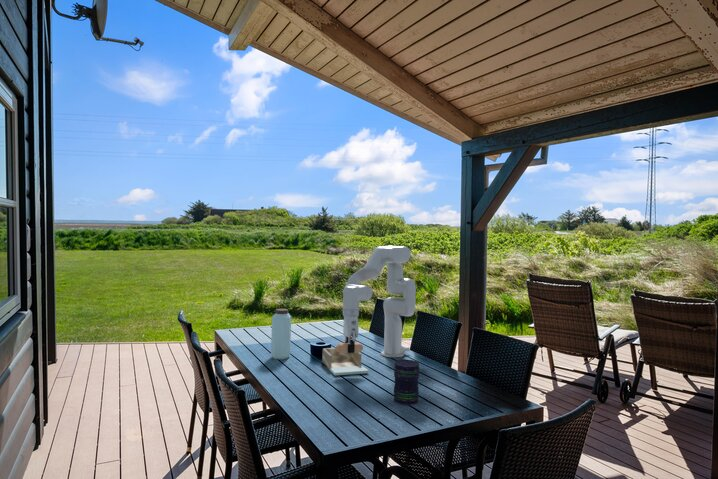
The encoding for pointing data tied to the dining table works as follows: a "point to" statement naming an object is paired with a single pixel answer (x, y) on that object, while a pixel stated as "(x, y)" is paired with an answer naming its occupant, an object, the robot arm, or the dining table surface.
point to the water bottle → (281, 334)
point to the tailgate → (348, 370)
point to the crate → (340, 358)
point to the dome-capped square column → (344, 347)
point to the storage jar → (406, 382)
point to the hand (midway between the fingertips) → (349, 350)
